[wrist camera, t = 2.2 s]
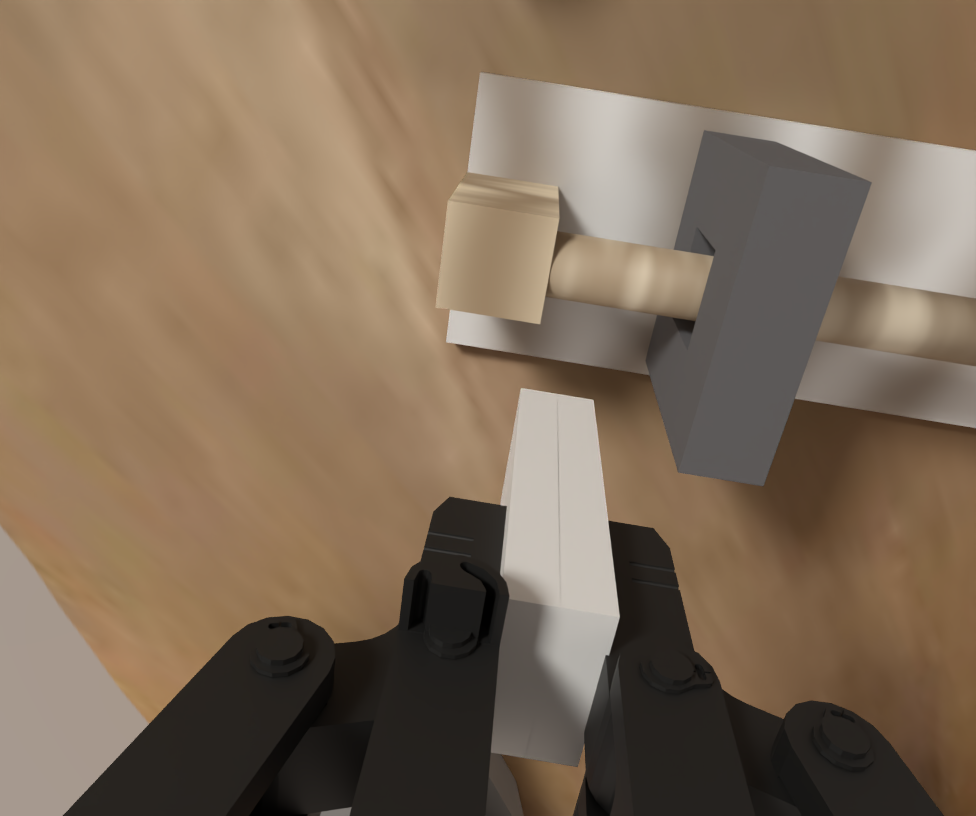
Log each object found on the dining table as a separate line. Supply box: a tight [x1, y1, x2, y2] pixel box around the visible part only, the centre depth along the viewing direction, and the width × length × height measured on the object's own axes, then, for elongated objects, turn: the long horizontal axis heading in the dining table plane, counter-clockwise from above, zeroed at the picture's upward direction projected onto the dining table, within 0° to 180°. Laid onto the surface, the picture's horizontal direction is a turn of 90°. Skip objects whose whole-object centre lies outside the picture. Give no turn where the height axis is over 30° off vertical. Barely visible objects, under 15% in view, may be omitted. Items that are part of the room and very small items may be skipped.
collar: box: [645, 130, 872, 486], centre depth 29 cm, size 3×10×10 cm, turn 172°
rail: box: [436, 72, 976, 428], centre depth 31 cm, size 32×12×8 cm, turn 82°
